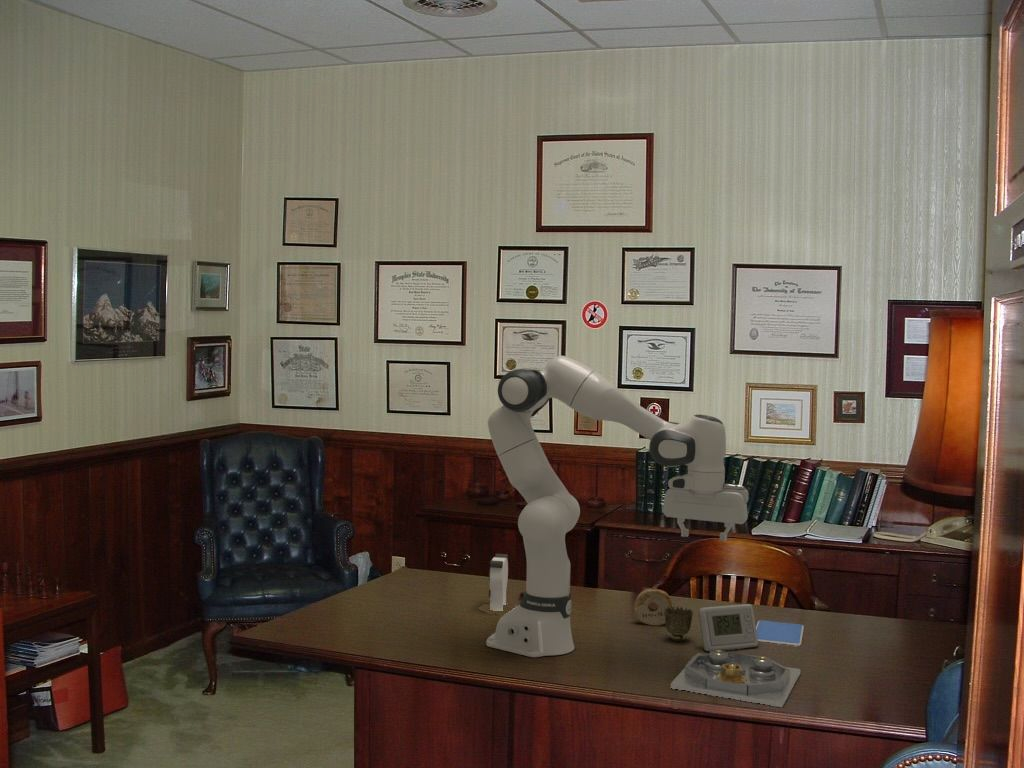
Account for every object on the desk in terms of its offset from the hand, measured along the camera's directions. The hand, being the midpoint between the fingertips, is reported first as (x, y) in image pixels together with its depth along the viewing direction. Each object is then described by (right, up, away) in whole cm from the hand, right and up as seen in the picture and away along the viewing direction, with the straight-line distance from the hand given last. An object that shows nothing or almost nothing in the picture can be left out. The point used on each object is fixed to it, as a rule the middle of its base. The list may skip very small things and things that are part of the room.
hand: (703, 538), depth 254 cm
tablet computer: (+26, -31, +29) cm, 50 cm away
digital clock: (+9, -31, +16) cm, 36 cm away
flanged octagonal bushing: (+3, -31, -16) cm, 35 cm away
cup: (-3, -30, +21) cm, 37 cm away
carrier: (+6, -32, -10) cm, 34 cm away
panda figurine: (-51, -27, +47) cm, 74 cm away
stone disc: (-8, -29, +35) cm, 47 cm away
